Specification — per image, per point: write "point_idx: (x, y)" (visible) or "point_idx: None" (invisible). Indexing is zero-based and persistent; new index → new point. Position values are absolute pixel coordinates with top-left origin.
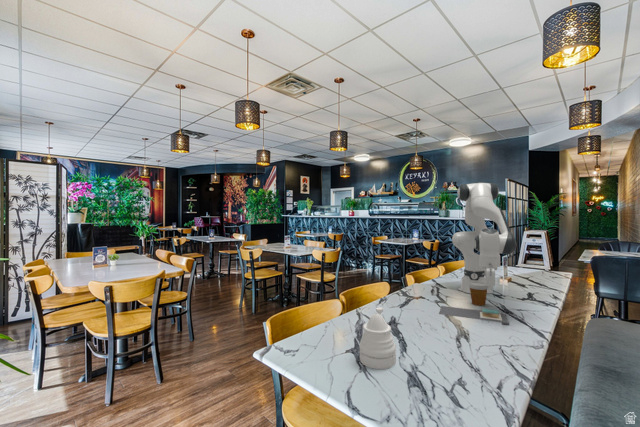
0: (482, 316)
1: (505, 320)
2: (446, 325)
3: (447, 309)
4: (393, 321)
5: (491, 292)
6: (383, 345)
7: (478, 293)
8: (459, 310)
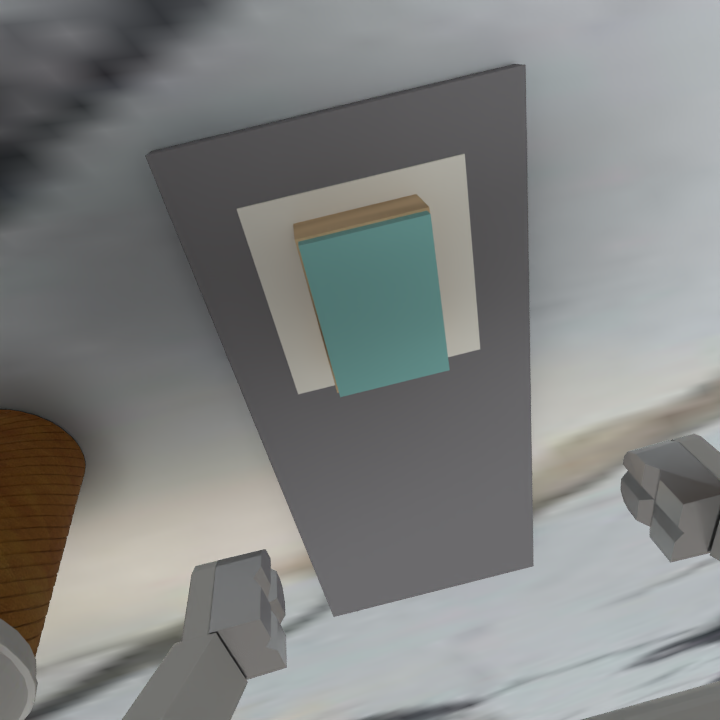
0: None
1: (439, 118)
2: None
3: (398, 568)
4: (710, 634)
5: (701, 454)
6: None
7: (32, 577)
8: (368, 513)
